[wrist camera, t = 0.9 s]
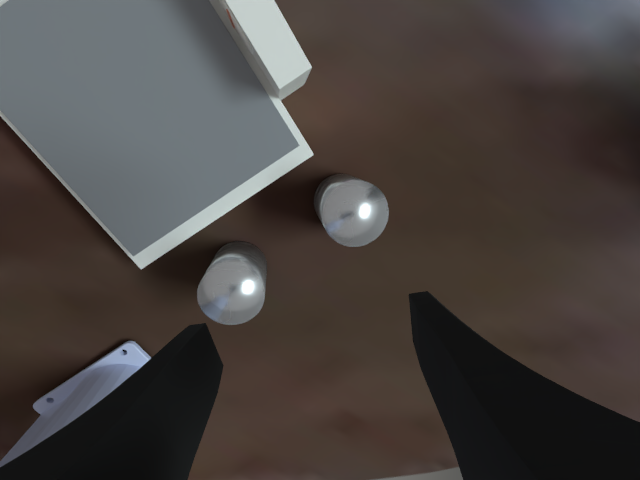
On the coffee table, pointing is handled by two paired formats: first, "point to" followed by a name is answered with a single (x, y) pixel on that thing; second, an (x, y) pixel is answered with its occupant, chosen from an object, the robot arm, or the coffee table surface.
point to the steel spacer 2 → (351, 209)
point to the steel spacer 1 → (234, 284)
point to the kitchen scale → (153, 107)
